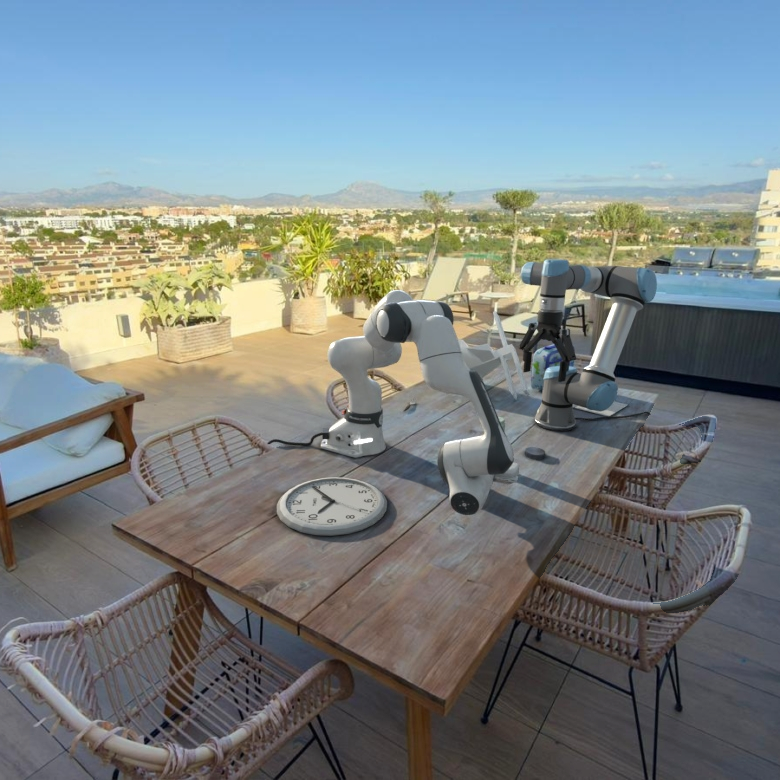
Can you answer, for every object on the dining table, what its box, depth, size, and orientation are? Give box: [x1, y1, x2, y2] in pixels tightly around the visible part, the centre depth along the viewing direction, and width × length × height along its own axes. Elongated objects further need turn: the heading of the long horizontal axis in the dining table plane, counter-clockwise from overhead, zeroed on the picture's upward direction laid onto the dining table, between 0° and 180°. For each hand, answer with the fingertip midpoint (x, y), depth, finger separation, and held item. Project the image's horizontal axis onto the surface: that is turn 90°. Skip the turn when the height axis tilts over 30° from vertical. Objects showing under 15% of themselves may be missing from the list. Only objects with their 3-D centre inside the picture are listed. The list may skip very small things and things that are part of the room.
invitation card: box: [573, 401, 629, 417], centre depth 226 cm, size 21×1×15 cm
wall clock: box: [276, 476, 388, 537], centre depth 142 cm, size 30×2×30 cm
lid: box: [524, 446, 546, 460], centre depth 177 cm, size 7×7×2 cm
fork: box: [403, 396, 419, 412], centre depth 222 cm, size 3×16×2 cm, turn 160°
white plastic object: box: [458, 310, 531, 400], centre depth 245 cm, size 37×45×31 cm
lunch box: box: [530, 343, 576, 391], centre depth 249 cm, size 26×11×21 cm, turn 134°
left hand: (486, 455), depth 152 cm, fingers open, 8 cm apart
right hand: (543, 376), depth 169 cm, fingers open, 13 cm apart
